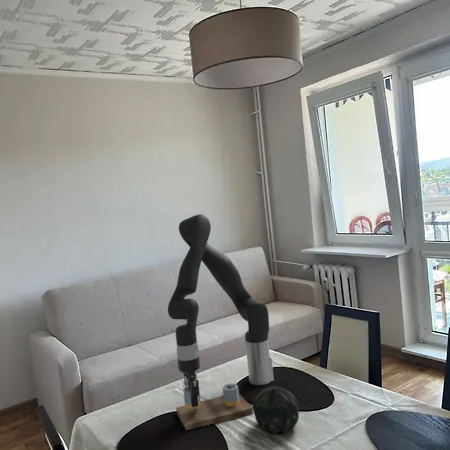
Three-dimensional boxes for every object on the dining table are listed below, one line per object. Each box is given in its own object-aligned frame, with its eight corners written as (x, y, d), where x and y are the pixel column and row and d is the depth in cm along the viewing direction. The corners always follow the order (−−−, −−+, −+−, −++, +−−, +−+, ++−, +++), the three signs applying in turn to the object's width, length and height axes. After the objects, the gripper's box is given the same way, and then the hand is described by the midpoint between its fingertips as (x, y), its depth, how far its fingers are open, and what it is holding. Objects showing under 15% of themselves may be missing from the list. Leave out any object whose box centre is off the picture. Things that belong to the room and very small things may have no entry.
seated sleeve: (236, 398, 163) (234, 382, 163) (241, 404, 159) (239, 387, 158) (222, 401, 162) (221, 385, 161) (227, 407, 157) (225, 391, 156)
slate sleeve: (198, 400, 159) (196, 384, 158) (202, 406, 154) (200, 389, 154) (183, 403, 157) (182, 387, 157) (187, 410, 152) (185, 393, 152)
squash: (273, 393, 157) (255, 373, 148) (312, 404, 148) (294, 383, 139) (258, 432, 150) (238, 414, 141) (297, 447, 141) (278, 428, 132)
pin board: (238, 397, 169) (236, 374, 168) (252, 413, 155) (250, 388, 155) (176, 412, 161) (174, 389, 160) (186, 431, 148) (183, 405, 147)
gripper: (204, 360, 149) (208, 409, 150) (193, 347, 162) (197, 392, 164) (182, 364, 146) (187, 414, 148) (173, 351, 160) (177, 396, 161)
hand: (192, 402), depth 156 cm, fingers closed on slate sleeve, 5 cm apart
